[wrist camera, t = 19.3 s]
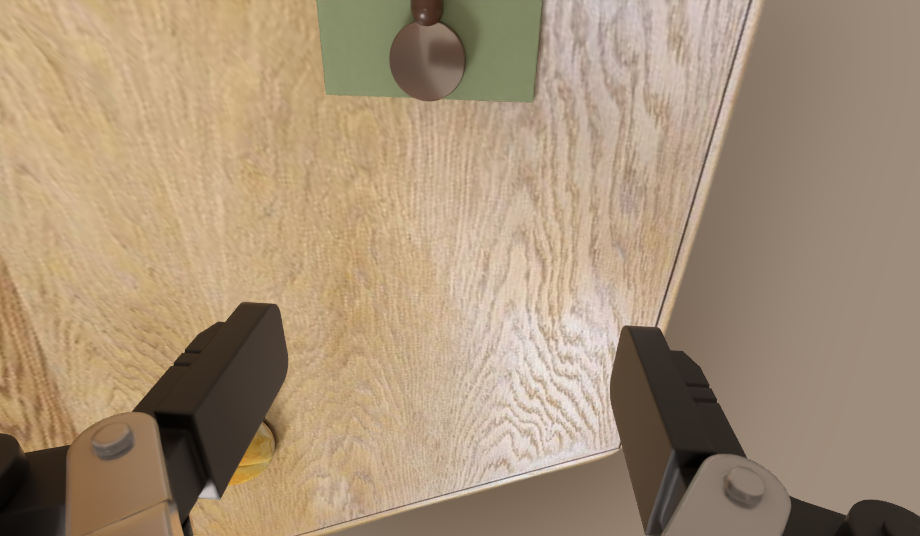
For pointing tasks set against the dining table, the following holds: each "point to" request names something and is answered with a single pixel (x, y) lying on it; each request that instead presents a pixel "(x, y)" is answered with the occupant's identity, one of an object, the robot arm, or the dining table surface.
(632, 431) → the robot arm
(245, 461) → the bread roll
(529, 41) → the placemat
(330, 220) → the dining table surface
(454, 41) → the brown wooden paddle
